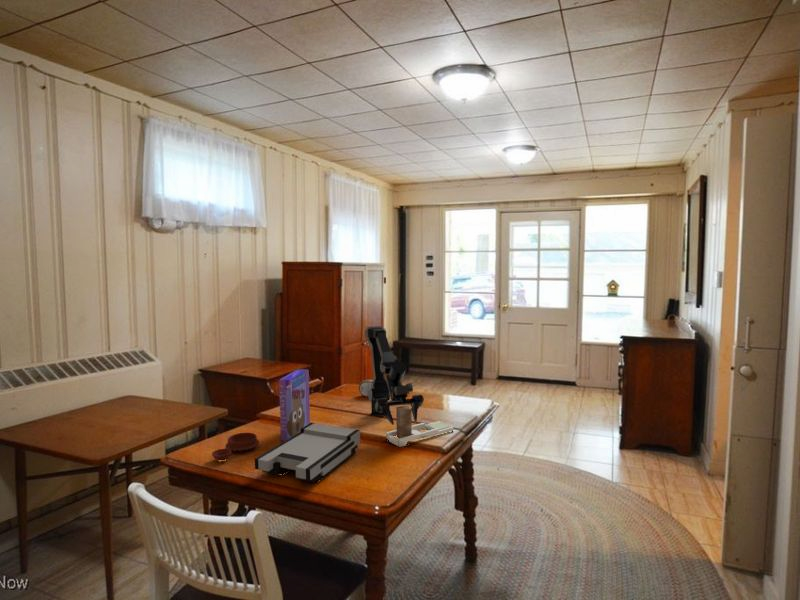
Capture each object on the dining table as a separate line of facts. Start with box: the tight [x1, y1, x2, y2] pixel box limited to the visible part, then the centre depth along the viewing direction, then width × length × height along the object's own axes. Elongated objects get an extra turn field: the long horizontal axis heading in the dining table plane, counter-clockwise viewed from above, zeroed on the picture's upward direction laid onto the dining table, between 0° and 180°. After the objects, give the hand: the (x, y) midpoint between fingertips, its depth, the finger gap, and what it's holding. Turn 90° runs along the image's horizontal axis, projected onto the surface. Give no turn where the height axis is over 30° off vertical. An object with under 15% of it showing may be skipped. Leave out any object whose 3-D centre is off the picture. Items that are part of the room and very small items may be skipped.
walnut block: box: [395, 405, 413, 439], centre depth 184 cm, size 4×4×12 cm
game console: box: [254, 422, 361, 483], centre depth 164 cm, size 21×32×8 cm, turn 157°
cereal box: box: [278, 368, 311, 442], centre depth 192 cm, size 17×5×24 cm, turn 168°
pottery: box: [211, 432, 260, 461], centre depth 174 cm, size 12×20×4 cm, turn 159°
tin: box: [358, 379, 373, 398], centre depth 243 cm, size 15×3×8 cm, turn 84°
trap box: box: [385, 420, 455, 448], centre depth 189 cm, size 26×9×3 cm, turn 125°
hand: (404, 422), depth 183 cm, fingers open, 9 cm apart
